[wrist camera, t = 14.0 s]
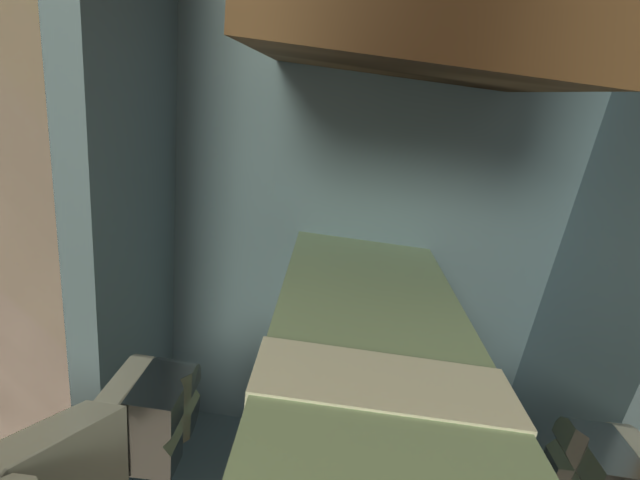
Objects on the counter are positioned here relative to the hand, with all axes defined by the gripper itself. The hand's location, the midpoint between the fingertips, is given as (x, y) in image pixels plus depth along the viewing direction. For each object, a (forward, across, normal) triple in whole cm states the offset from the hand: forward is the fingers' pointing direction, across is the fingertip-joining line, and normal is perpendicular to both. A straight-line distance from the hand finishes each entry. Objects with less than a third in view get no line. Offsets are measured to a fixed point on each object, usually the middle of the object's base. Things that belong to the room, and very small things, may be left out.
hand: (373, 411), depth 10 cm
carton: (+6, 0, 0) cm, 6 cm away
